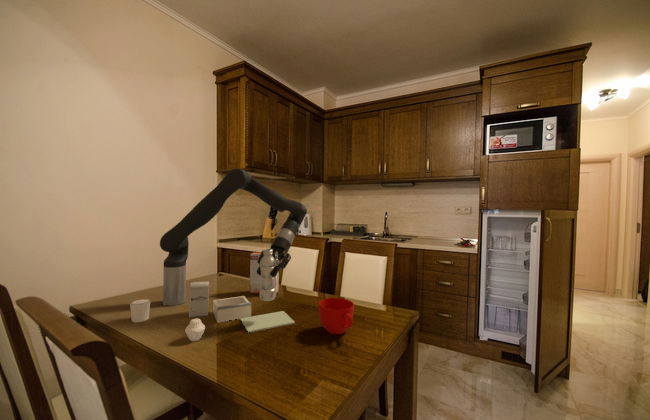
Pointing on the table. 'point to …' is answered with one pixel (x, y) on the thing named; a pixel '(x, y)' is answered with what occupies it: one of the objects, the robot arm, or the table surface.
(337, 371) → the table surface
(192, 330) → the muffin
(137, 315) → the shot glass
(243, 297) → the sleeve
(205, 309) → the supplement box
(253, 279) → the cracker box
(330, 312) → the ceramic cup
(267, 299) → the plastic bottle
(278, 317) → the mat
